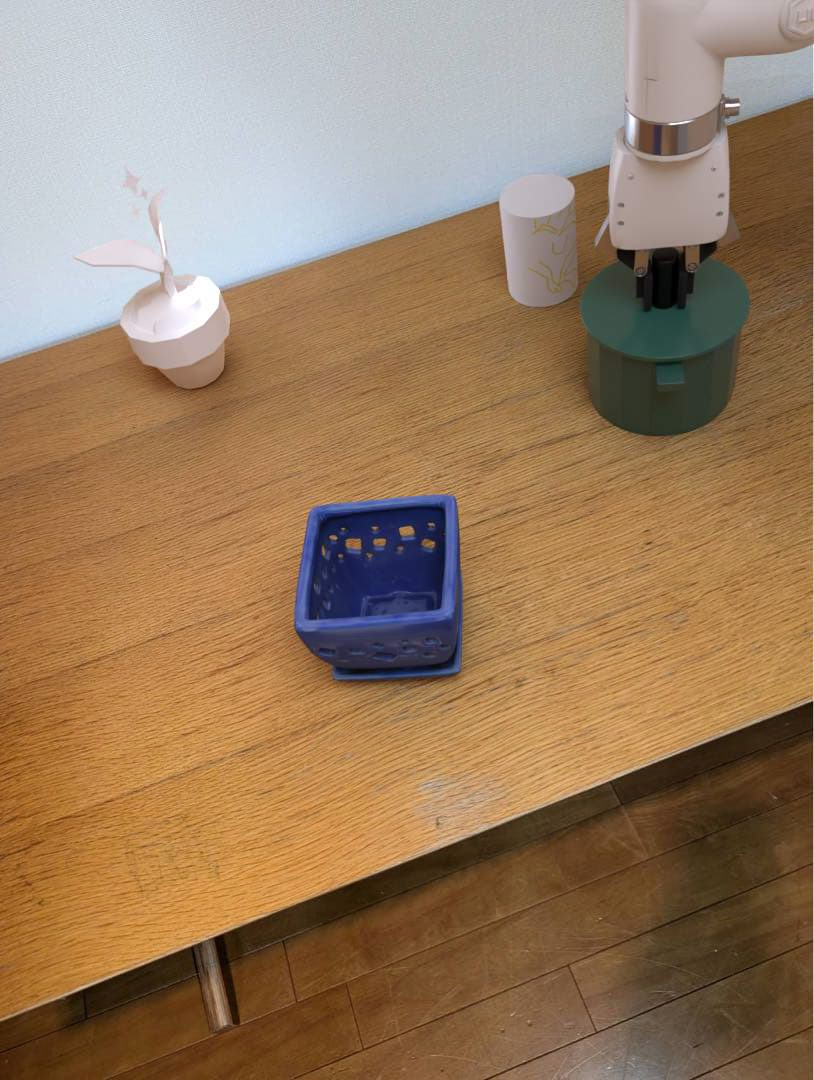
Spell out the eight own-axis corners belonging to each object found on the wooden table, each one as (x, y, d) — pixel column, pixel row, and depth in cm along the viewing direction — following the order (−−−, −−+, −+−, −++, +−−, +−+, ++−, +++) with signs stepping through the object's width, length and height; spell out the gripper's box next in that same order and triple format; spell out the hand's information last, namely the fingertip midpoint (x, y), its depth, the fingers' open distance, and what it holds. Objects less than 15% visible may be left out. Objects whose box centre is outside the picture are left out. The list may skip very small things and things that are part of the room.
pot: (721, 316, 108) (729, 235, 100) (744, 452, 96) (756, 372, 88) (585, 326, 111) (583, 248, 103) (591, 460, 99) (589, 383, 91)
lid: (738, 252, 99) (744, 194, 94) (759, 360, 90) (768, 303, 84) (578, 266, 102) (576, 211, 97) (582, 372, 92) (580, 317, 87)
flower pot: (335, 580, 95) (304, 501, 86) (473, 570, 93) (457, 488, 84) (324, 703, 87) (289, 631, 78) (474, 695, 85) (457, 620, 76)
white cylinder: (544, 316, 113) (537, 226, 104) (494, 289, 117) (483, 200, 108) (592, 279, 115) (590, 188, 106) (542, 254, 120) (535, 164, 111)
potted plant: (235, 326, 121) (162, 139, 102) (255, 385, 114) (181, 195, 95) (136, 361, 120) (44, 178, 101) (151, 422, 113) (54, 238, 94)
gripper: (769, 83, 81) (746, 267, 96) (570, 106, 84) (577, 282, 98) (782, 134, 77) (756, 319, 91) (572, 156, 80) (579, 332, 94)
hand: (663, 298), depth 95 cm, fingers closed
